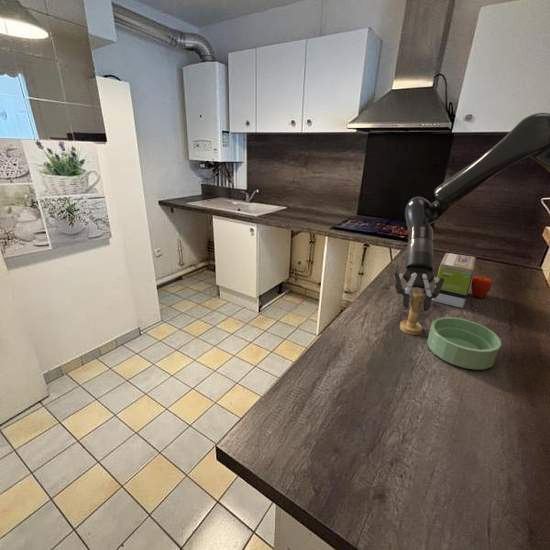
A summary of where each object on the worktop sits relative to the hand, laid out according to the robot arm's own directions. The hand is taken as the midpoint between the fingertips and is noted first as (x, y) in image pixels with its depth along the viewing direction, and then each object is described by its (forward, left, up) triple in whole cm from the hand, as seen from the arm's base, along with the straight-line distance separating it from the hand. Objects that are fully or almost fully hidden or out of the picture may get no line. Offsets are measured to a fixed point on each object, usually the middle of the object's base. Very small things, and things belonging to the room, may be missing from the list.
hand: (416, 308), depth 83 cm
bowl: (-5, +12, -8) cm, 15 cm away
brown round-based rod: (-1, -1, -8) cm, 8 cm away
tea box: (-31, -12, -8) cm, 35 cm away
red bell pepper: (-42, -9, -8) cm, 44 cm away
